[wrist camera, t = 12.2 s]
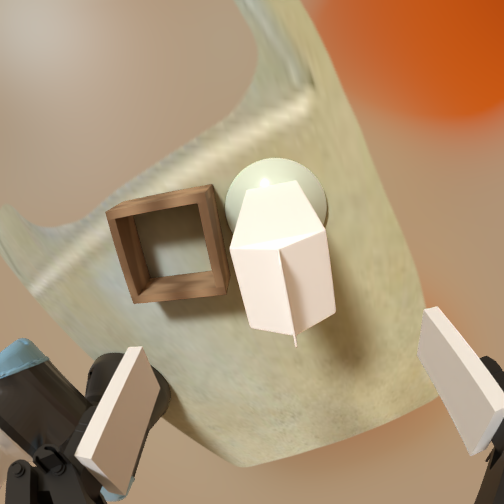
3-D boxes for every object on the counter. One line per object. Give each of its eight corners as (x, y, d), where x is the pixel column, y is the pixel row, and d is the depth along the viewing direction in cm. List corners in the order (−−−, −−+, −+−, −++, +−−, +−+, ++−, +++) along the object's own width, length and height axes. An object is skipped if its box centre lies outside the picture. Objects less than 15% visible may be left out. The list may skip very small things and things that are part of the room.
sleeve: (146, 285, 43) (133, 303, 38) (122, 201, 39) (105, 212, 34) (230, 275, 42) (226, 294, 37) (212, 184, 38) (204, 192, 33)
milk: (256, 237, 39) (245, 359, 19) (245, 188, 37) (219, 270, 17) (306, 227, 38) (346, 342, 18) (297, 178, 36) (336, 248, 16)
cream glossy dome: (235, 260, 41) (234, 262, 40) (217, 166, 37) (216, 166, 36) (329, 247, 40) (330, 249, 39) (319, 151, 36) (320, 152, 35)
